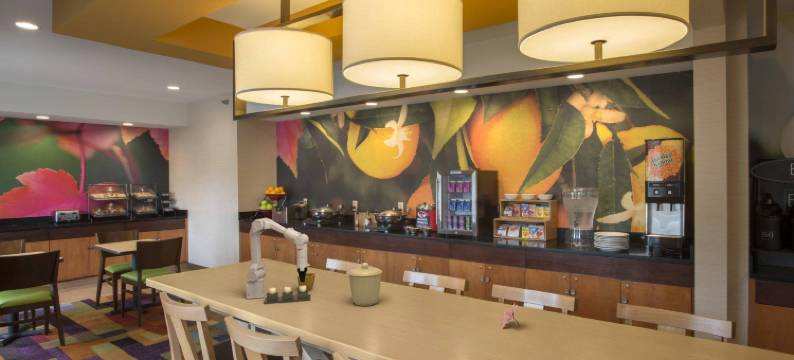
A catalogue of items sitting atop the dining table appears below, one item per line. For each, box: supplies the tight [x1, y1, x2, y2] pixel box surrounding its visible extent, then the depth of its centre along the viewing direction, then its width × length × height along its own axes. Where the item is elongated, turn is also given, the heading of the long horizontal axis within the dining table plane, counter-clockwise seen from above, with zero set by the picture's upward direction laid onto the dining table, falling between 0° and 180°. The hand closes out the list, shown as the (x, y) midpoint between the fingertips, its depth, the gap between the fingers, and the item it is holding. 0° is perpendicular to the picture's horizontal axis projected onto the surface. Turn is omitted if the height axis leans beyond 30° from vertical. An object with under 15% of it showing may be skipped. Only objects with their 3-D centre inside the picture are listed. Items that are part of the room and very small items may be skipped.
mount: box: [263, 290, 312, 305], centre depth 246 cm, size 24×10×4 cm, turn 101°
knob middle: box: [283, 285, 292, 294], centre depth 246 cm, size 4×4×4 cm
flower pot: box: [296, 272, 316, 292], centre depth 268 cm, size 9×9×9 cm
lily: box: [500, 302, 521, 329], centre depth 196 cm, size 12×12×10 cm
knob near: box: [268, 286, 277, 295], centre depth 244 cm, size 4×4×4 cm
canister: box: [347, 262, 383, 307], centre depth 236 cm, size 18×18×21 cm
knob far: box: [298, 285, 306, 293], centre depth 248 cm, size 4×4×4 cm
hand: (302, 281), depth 248 cm, fingers closed
